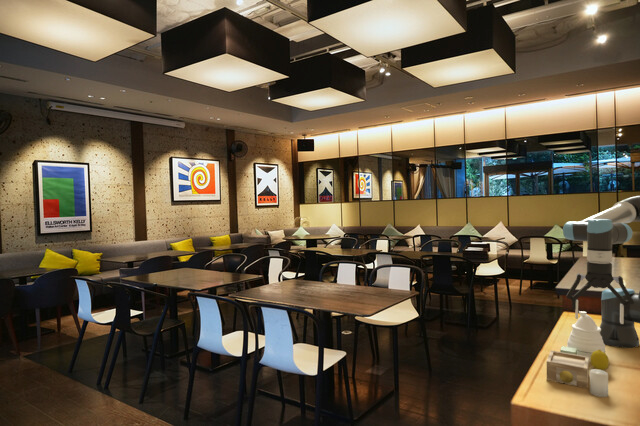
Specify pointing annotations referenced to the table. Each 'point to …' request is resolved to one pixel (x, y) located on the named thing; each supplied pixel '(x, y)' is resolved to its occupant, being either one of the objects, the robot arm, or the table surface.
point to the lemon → (599, 360)
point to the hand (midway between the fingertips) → (598, 320)
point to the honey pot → (585, 336)
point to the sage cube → (568, 350)
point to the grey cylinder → (598, 383)
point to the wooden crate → (568, 368)
